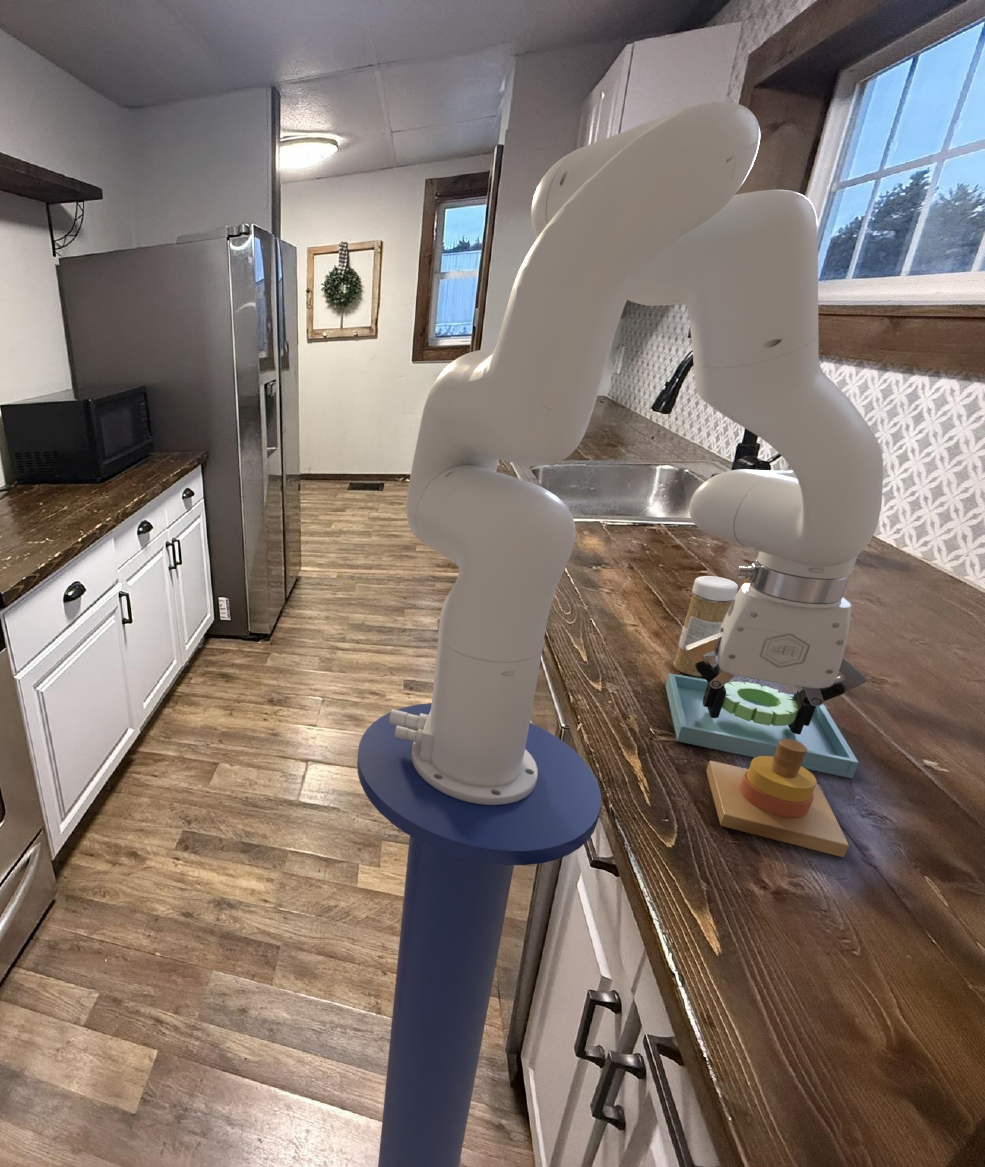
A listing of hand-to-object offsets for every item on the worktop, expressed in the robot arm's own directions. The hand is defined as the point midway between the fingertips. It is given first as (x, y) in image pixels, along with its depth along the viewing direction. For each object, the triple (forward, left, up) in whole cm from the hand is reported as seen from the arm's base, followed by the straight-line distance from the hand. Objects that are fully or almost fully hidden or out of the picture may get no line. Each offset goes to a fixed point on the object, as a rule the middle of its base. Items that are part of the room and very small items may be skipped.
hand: (751, 718), depth 74 cm
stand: (-1, -16, -1) cm, 16 cm away
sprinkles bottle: (-4, +13, -1) cm, 14 cm away
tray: (0, 0, -1) cm, 1 cm away
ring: (0, 0, +1) cm, 1 cm away
